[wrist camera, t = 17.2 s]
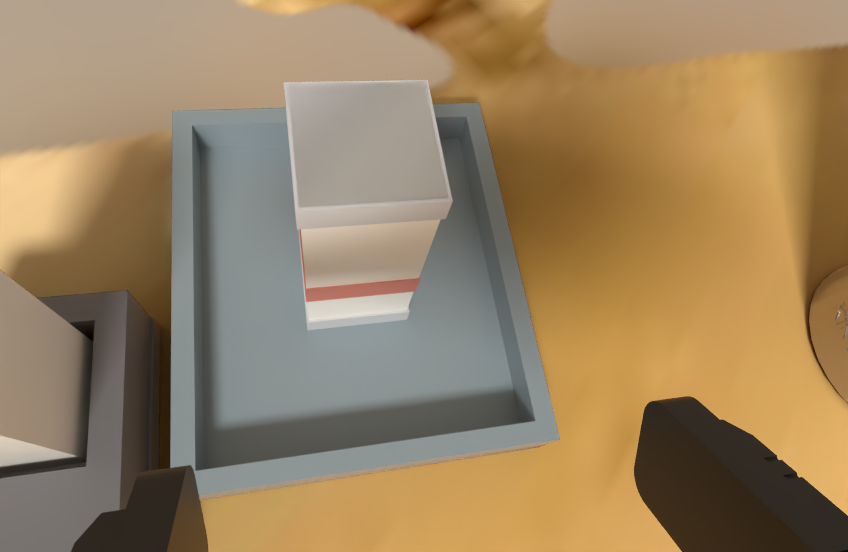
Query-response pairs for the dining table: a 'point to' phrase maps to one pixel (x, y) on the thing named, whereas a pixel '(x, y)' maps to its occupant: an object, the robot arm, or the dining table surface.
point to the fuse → (41, 386)
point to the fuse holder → (94, 429)
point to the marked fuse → (364, 195)
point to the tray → (340, 346)
